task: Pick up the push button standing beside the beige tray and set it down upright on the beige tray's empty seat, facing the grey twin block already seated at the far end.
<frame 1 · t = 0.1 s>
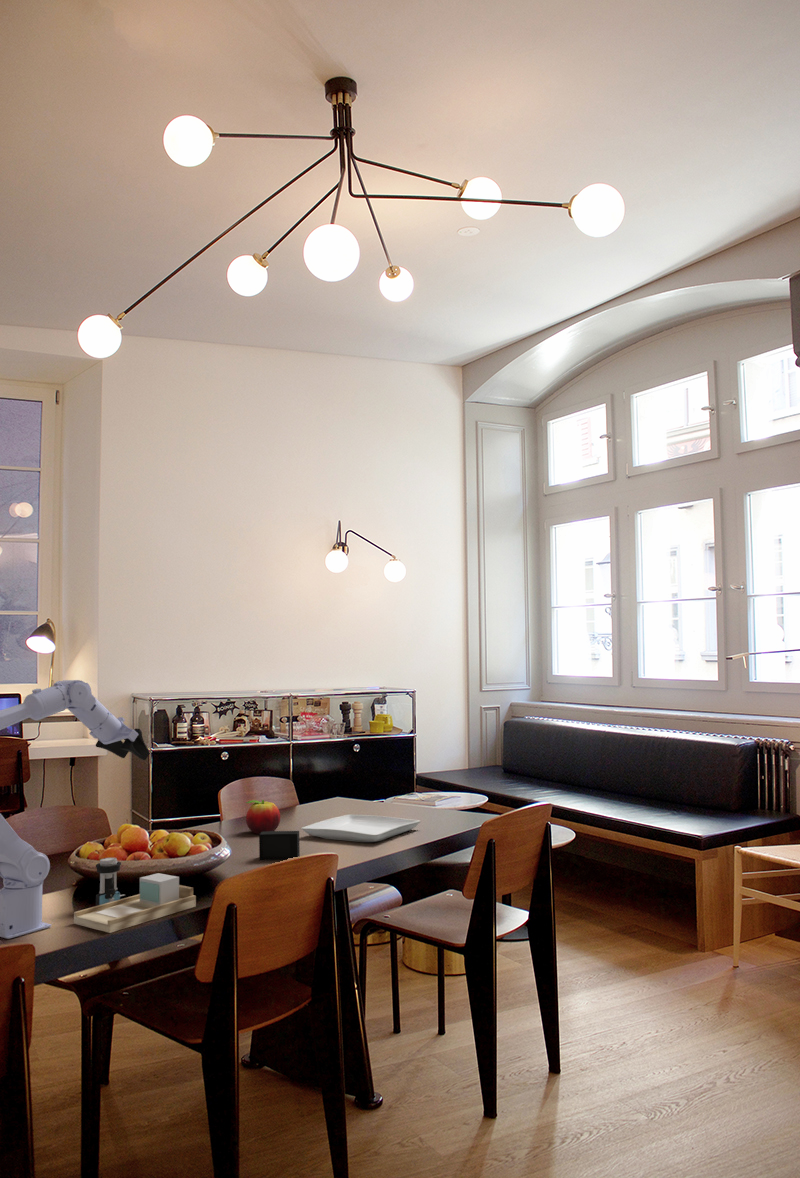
hand: (136, 755, 203), 32 cm above the table, tool tilted 50°, fingers open, 7 cm apart
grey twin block: (158, 889, 192), point 4 cm above the table
square plate: (361, 835, 269), on the table
beige tray: (136, 914, 187), on the table
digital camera: (280, 858, 239), on the table
fruit: (263, 832, 275), on the table
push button: (111, 905, 195), on the table
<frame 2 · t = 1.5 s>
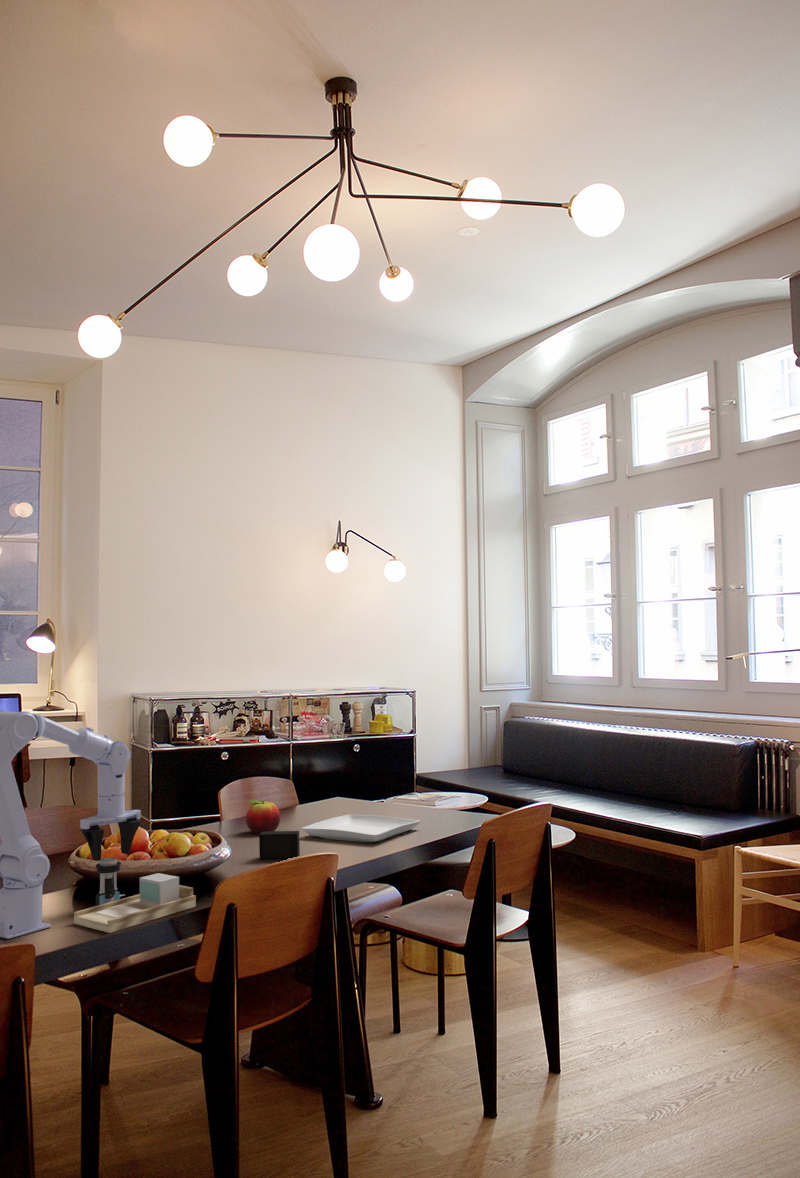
hand: (111, 856, 196), 10 cm above the table, tool pointing down, fingers open, 7 cm apart
nothing on the table moved.
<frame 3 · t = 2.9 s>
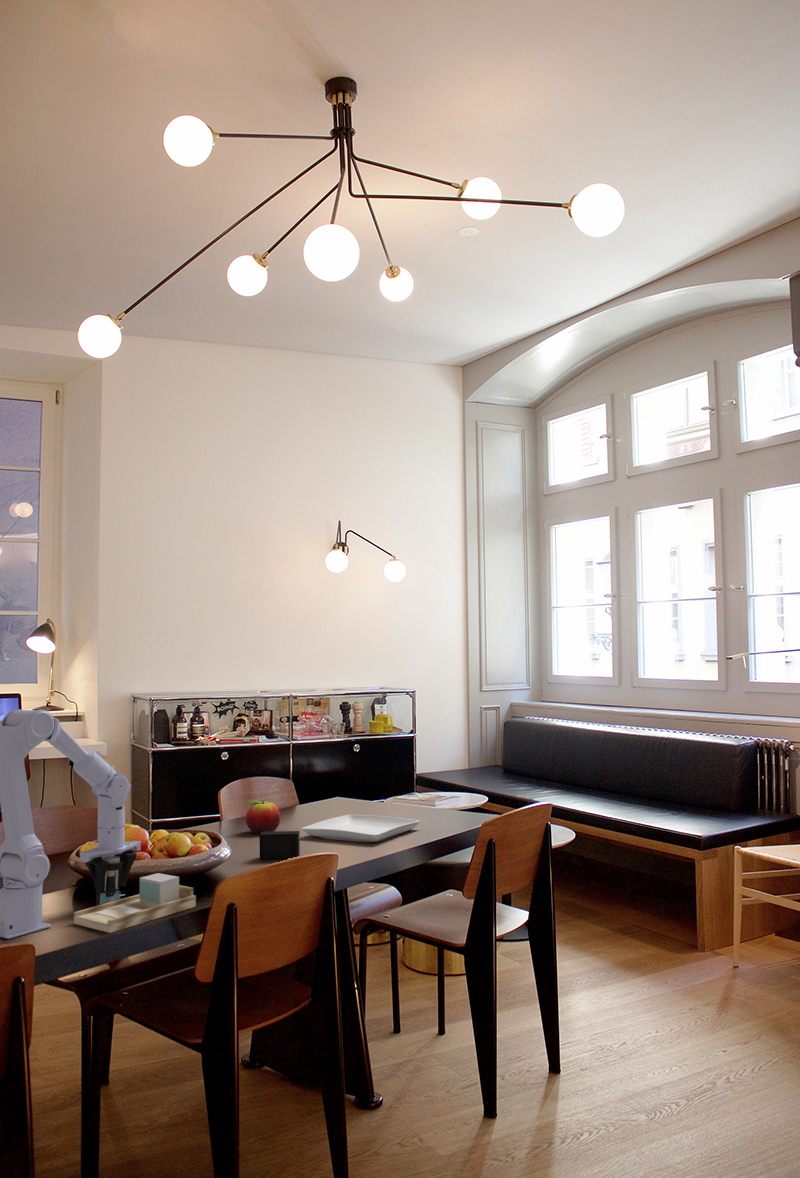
hand: (111, 889, 195), 3 cm above the table, tool pointing down, fingers closed on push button, 5 cm apart
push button: (110, 904, 195), on the table, touching gripper
everything else where it was.
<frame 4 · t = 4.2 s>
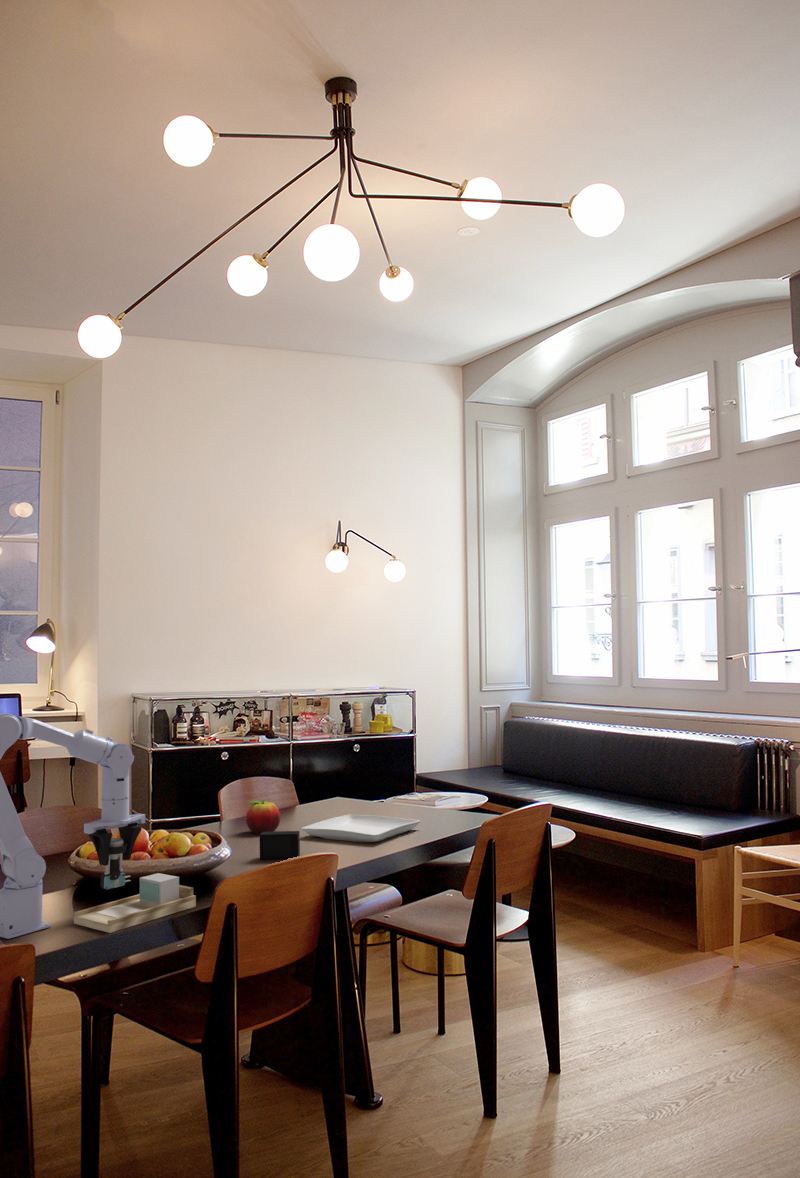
hand: (115, 862, 190), 10 cm above the table, tool pointing down, fingers closed on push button, 5 cm apart
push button: (115, 886, 191), point 5 cm above the table, touching gripper
everything else where it was.
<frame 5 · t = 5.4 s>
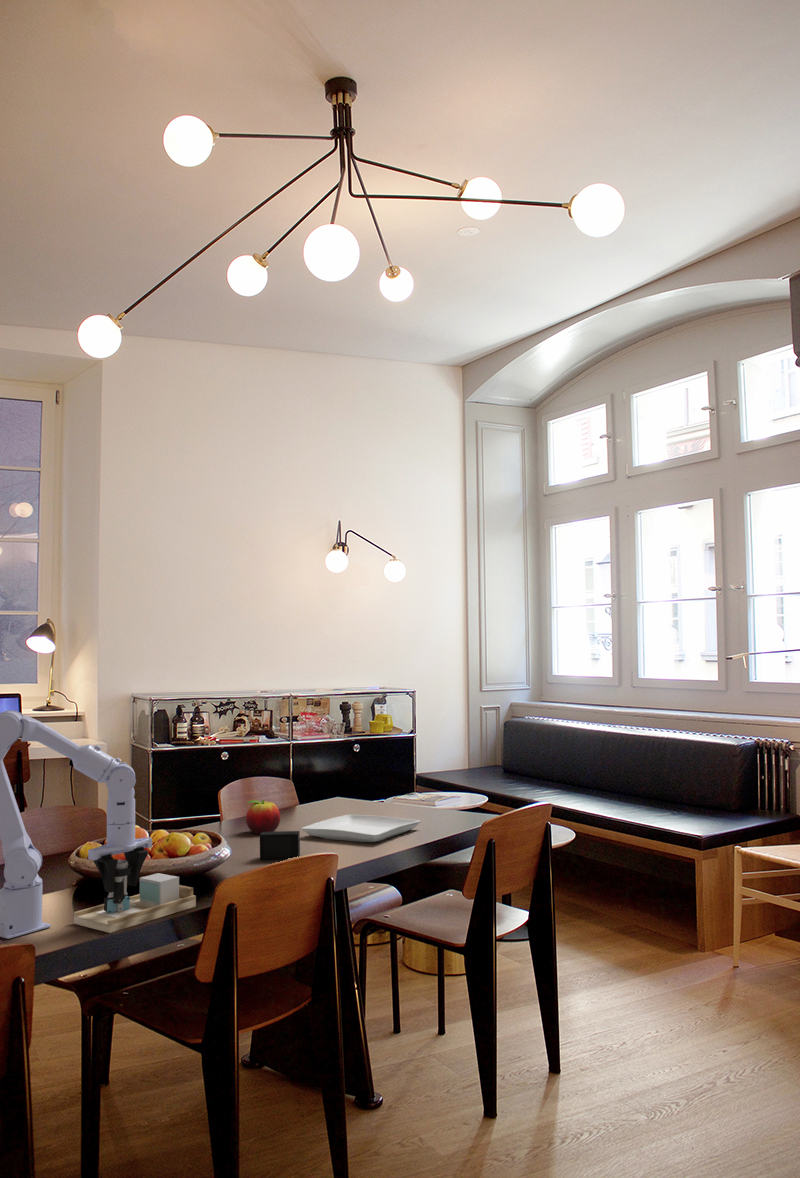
hand: (120, 888, 184), 6 cm above the table, tool pointing down, fingers closed on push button, 5 cm apart
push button: (120, 910, 184), point 1 cm above the table, touching gripper, beige tray
everything else where it was.
when the fingers open (6 cm above the table, at t = 6.0 s): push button stays where it is, resting on beige tray.
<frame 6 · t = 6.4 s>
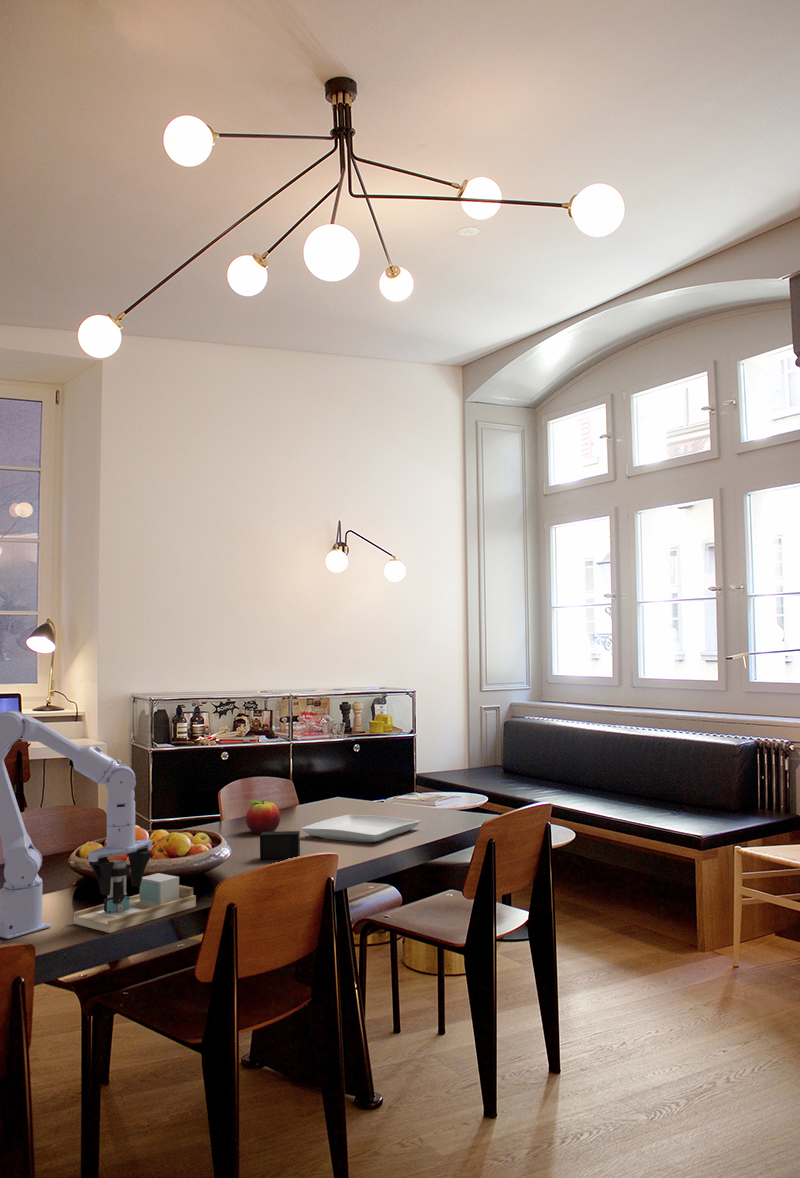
hand: (120, 890, 184), 6 cm above the table, tool pointing down, fingers open, 7 cm apart
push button: (120, 911, 184), point 1 cm above the table, touching beige tray
everything else where it was.
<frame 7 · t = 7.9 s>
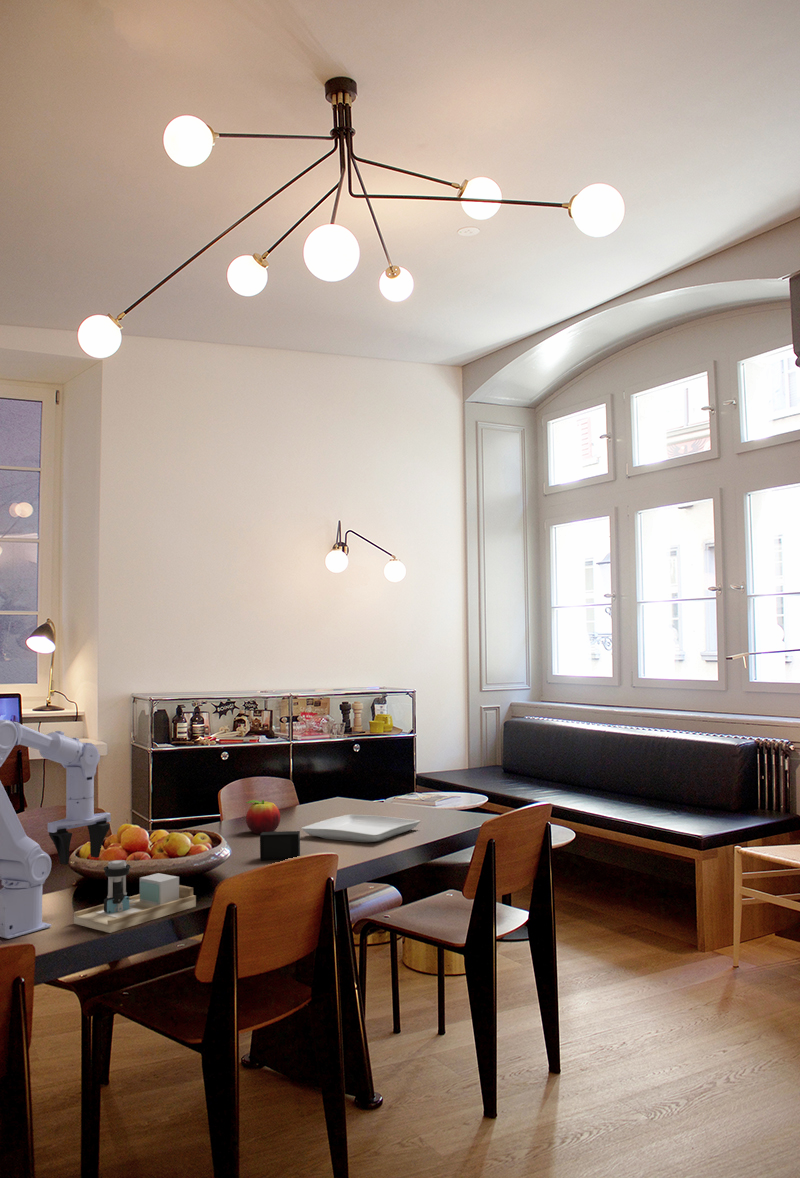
hand: (79, 860, 193), 10 cm above the table, tool pointing down, fingers open, 7 cm apart
nothing on the table moved.
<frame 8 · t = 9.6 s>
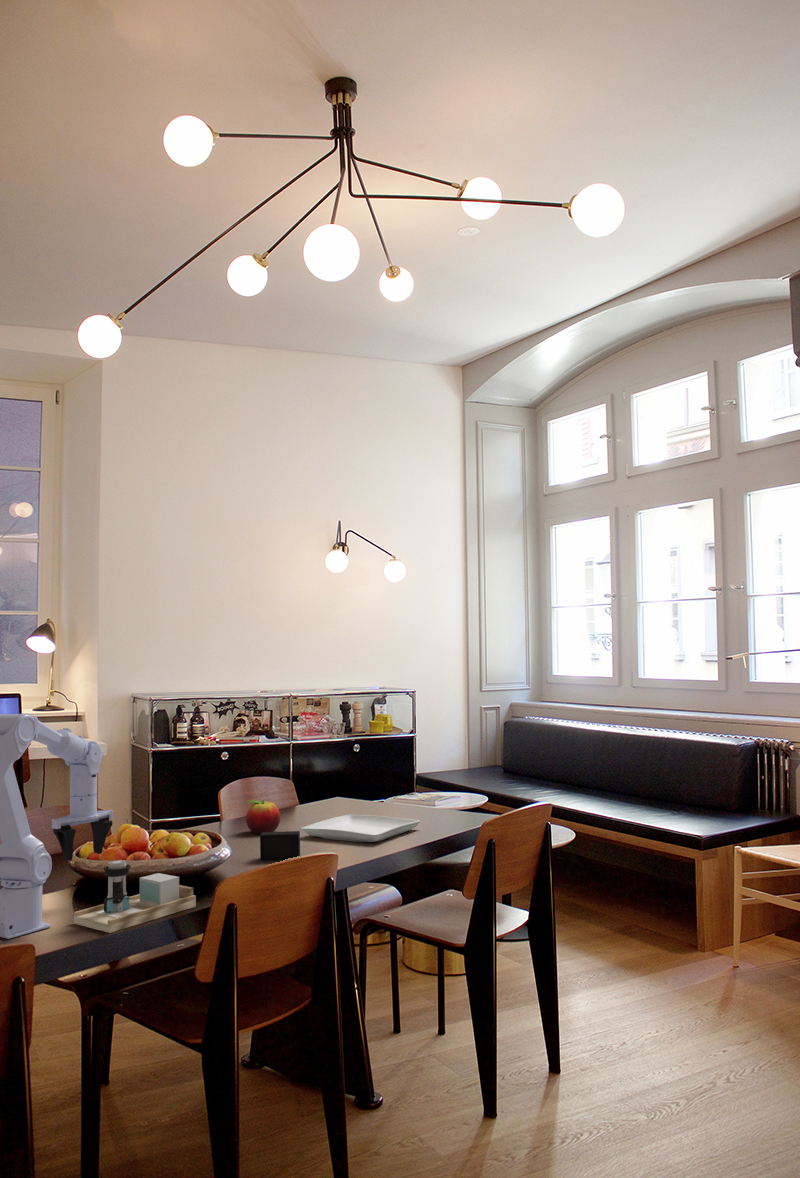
hand: (83, 856, 197), 10 cm above the table, tool pointing down, fingers open, 7 cm apart
nothing on the table moved.
at the end: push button inside the target area on the beige tray (1.2 cm from its centre), point 1.4 cm above the beige tray's base; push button touching beige tray; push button tilted 0° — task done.
